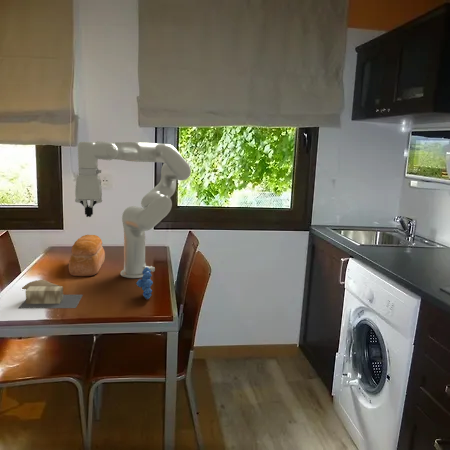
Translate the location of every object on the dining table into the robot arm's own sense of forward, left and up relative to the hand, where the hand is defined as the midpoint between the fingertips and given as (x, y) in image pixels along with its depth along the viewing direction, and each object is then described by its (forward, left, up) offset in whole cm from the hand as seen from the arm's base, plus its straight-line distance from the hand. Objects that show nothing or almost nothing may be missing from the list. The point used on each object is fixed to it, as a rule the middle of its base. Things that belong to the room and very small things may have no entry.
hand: (89, 216), depth 183 cm
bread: (+5, -21, -29) cm, 36 cm away
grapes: (-24, +18, -29) cm, 42 cm away
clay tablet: (+18, +7, -30) cm, 36 cm away
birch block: (+7, +23, -26) cm, 35 cm away
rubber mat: (+10, +23, -29) cm, 38 cm away
